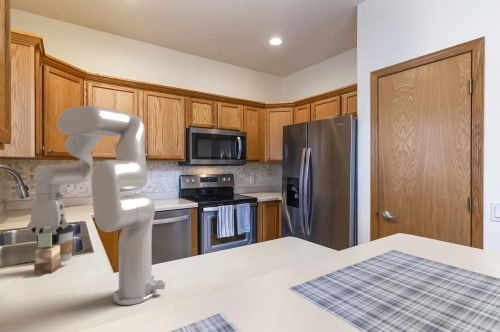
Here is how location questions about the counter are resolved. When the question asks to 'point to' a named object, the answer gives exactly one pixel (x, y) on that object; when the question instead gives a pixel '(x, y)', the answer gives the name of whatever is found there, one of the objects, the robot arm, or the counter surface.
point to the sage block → (45, 239)
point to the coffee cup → (66, 243)
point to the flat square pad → (36, 274)
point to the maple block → (48, 254)
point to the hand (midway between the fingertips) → (48, 243)
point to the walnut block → (47, 267)
